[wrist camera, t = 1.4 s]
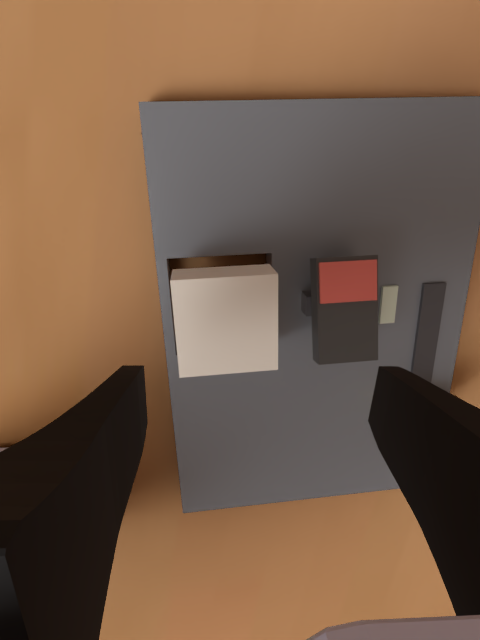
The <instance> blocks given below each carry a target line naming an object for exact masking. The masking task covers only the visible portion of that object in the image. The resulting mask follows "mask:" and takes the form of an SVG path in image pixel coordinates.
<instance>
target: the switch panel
mask: <svg viewBox="0 0 480 640" xmlns="http://www.w3.org/2000/svg"><path fill="white" fill-rule="evenodd" d="M139 110H140V119H141V128H142V138H143V147H144V156H145V165H146V175H147V184H148V193H149V202H150V212H151V221H152V230H153V239H154V249H155V258H156V267H157V276H158V286H159V295H160V304H161V313H162V323H163V332H164V341H165V350H166V360H167V369H168V378H169V387H170V397H171V406H172V415H173V424H174V434H175V443H176V452H177V461H178V471H179V480H180V489H181V498H182V508H183V513H189V512H198V511H206V510H215V509H224V508H233V507H241V506H250V505H259V504H267V503H276V502H285V501H294V500H302V499H311V498H320V497H329V496H337V495H346V494H355V493H363V492H372V491H381V490H390V489H398V488H400V487H399V486H398V484H397V482H396V480H395V478H394V477H393V475H392V473H391V471H390V469H389V468H388V466H387V464H386V462H385V460H384V458H383V456H382V455H381V453H380V451H379V449H378V446H377V444H376V441H375V439H374V436H373V433H372V431H371V428H370V425H369V422H368V418H369V413H370V408H371V403H372V398H373V393H374V388H375V383H376V378H377V373H378V368H379V366H399V367H401V368H403V369H406V370H408V371H410V372H412V373H414V374H416V375H418V376H419V377H421V378H423V379H425V380H427V381H429V382H430V383H432V384H434V385H436V386H438V387H439V388H441V389H443V390H445V391H447V392H448V393H450V389H451V383H452V378H453V372H454V366H455V361H456V355H457V349H458V344H459V338H460V333H461V327H462V321H463V316H464V310H465V304H466V299H467V293H468V287H469V282H470V276H471V270H472V265H473V259H474V254H475V248H476V242H477V237H478V231H479V225H480V96H466V97H405V98H345V99H284V100H223V101H162V102H139ZM263 253H266V264H270V265H271V266H272V267H273V269H274V270H275V271H276V272H277V273H278V370H269V371H257V372H244V373H232V374H220V375H208V376H196V377H184V378H179V367H178V357H177V347H176V336H175V326H174V316H173V305H172V295H171V285H170V279H171V275H170V265H169V259H170V258H188V257H207V256H226V255H244V254H263ZM363 255H378V360H373V361H361V362H349V363H337V364H324V365H319V364H317V363H316V362H315V361H314V360H313V348H312V312H311V277H310V258H328V257H345V256H363Z"/></svg>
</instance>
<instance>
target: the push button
mask: <svg viewBox="0 0 480 640" xmlns="http://www.w3.org/2000/svg"><path fill="white" fill-rule="evenodd" d="M170 285H171V295H172V305H173V316H174V326H175V336H176V347H177V357H178V367H179V378H184V377H196V376H208V375H220V374H232V373H244V372H257V371H269V370H278V273H277V272H276V271H275V270H274V269H273V267H272V266H271V265H270V264H259V265H241V266H223V267H206V268H188V269H172V274H171V279H170Z"/></svg>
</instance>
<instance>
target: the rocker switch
mask: <svg viewBox="0 0 480 640" xmlns="http://www.w3.org/2000/svg"><path fill="white" fill-rule="evenodd" d="M310 277H311V312H312V348H313V360H314V361H315V362H316V363H317V364H319V365H324V364H337V363H349V362H361V361H373V360H378V255H363V256H345V257H328V258H310Z"/></svg>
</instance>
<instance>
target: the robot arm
mask: <svg viewBox="0 0 480 640" xmlns="http://www.w3.org/2000/svg"><path fill="white" fill-rule="evenodd" d="M368 422H369V425H370V428H371V431H372V433H373V436H374V439H375V441H376V444H377V446H378V449H379V451H380V453H381V455H382V456H383V458H384V460H385V462H386V464H387V466H388V468H389V469H390V471H391V473H392V475H393V477H394V478H395V480H396V482H397V484H398V486H399V487H400V489H401V491H402V493H403V495H404V496H405V498H406V500H407V502H408V504H409V505H410V507H411V509H412V511H413V513H414V515H415V517H416V519H417V521H418V523H419V525H420V527H421V529H422V531H423V533H424V536H425V538H426V540H427V543H428V545H429V547H430V550H431V552H432V554H433V557H434V559H435V562H436V564H437V567H438V569H439V572H440V574H441V577H442V579H443V582H444V584H445V587H446V589H447V592H448V594H449V597H450V599H451V602H452V605H453V608H454V610H455V613H456V616H446V617H424V618H402V619H380V620H360V621H356V622H351V623H346V624H341V625H336V626H331V627H327V628H325V629H323V630H322V631H320V632H318V633H316V634H315V635H313V636H311V637H310V638H308V639H306V640H480V409H479V408H477V407H475V406H473V405H471V404H469V403H467V402H465V401H463V400H461V399H459V398H458V397H456V396H454V395H452V394H450V393H448V392H447V391H445V390H443V389H441V388H439V387H438V386H436V385H434V384H432V383H430V382H429V381H427V380H425V379H423V378H421V377H419V376H418V375H416V374H414V373H412V372H410V371H408V370H406V369H403V368H401V367H399V366H379V368H378V373H377V378H376V383H375V388H374V393H373V398H372V403H371V408H370V413H369V418H368ZM146 428H147V407H146V392H145V377H144V366H122V367H121V368H119V369H118V370H117V371H116V372H115V373H114V374H112V375H111V376H110V377H109V378H108V379H107V380H106V381H104V382H103V383H102V384H101V385H100V386H99V387H97V388H96V389H95V390H94V391H93V392H91V393H90V394H89V395H88V396H87V397H85V398H84V399H83V400H82V401H80V402H79V403H78V404H76V405H75V406H74V407H72V408H71V409H69V410H68V411H67V412H65V413H64V414H63V415H61V416H60V417H59V418H57V419H56V420H54V421H53V422H51V423H50V424H48V425H47V426H45V427H44V428H42V429H40V430H39V431H37V432H36V433H34V434H32V435H31V436H29V437H27V438H26V439H24V440H22V441H20V442H18V443H16V444H14V445H13V446H11V447H6V448H0V640H99V635H100V629H101V623H102V618H103V612H104V606H105V601H106V596H107V590H108V585H109V579H110V574H111V569H112V564H113V559H114V553H115V548H116V543H117V538H118V534H119V530H120V526H121V522H122V519H123V515H124V512H125V509H126V506H127V502H128V499H129V496H130V492H131V489H132V486H133V483H134V479H135V476H136V473H137V469H138V466H139V463H140V459H141V456H142V452H143V447H144V441H145V435H146Z"/></svg>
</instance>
